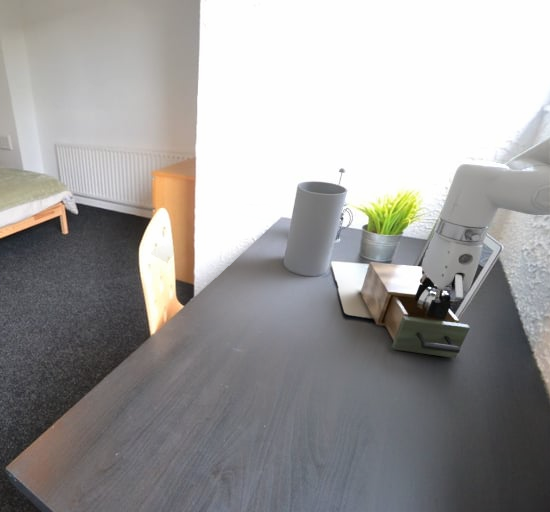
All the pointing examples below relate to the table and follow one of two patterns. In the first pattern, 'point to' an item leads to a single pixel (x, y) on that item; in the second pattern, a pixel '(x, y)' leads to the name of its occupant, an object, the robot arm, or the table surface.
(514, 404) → the table surface
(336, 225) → the cylinder vase
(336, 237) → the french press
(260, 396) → the table surface
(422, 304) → the grooved metal pulley
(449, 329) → the drawer
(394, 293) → the cabinet
